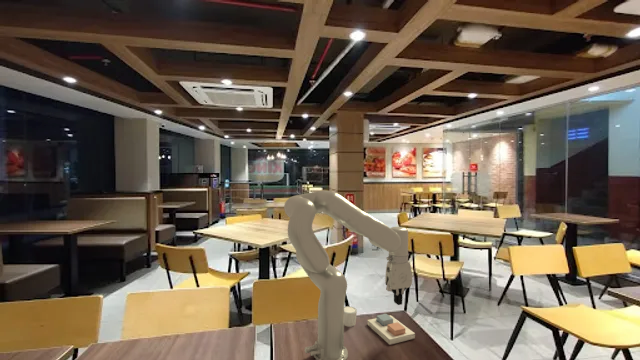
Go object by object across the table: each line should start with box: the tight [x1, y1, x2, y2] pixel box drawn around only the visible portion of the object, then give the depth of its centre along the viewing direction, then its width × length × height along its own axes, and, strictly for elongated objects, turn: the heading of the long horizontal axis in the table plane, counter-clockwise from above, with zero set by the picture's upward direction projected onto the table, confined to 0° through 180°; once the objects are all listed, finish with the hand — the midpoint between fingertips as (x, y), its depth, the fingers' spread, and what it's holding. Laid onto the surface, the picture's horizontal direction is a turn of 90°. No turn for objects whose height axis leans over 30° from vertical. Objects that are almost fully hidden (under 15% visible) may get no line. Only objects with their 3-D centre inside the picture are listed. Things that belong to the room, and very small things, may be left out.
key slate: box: [375, 313, 393, 326], centre depth 129 cm, size 5×5×2 cm
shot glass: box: [344, 305, 358, 328], centre depth 131 cm, size 7×7×7 cm
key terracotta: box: [387, 322, 405, 336], centre depth 121 cm, size 5×5×2 cm
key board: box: [367, 314, 416, 345], centre depth 125 cm, size 12×16×3 cm
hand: (398, 303), depth 121 cm, fingers closed
